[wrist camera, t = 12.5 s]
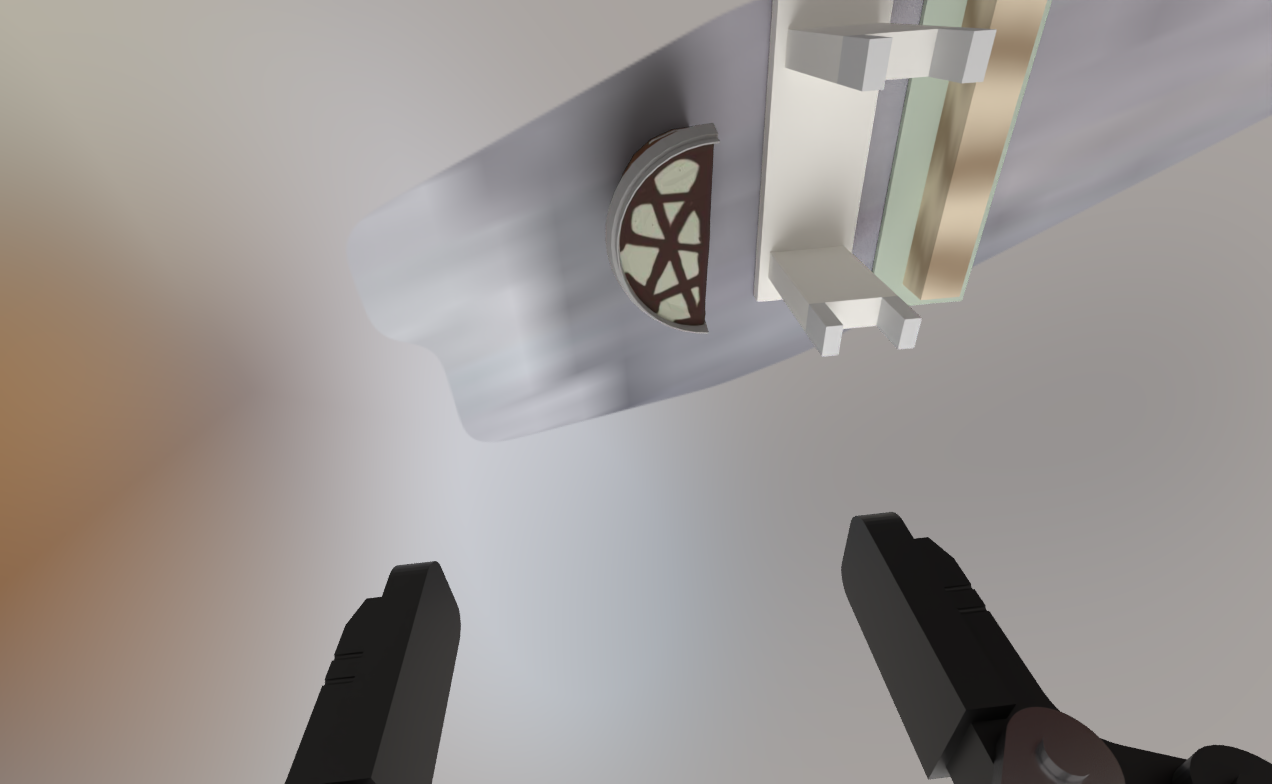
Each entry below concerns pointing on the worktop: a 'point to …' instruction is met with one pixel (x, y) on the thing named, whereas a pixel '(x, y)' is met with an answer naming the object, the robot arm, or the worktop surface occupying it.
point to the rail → (970, 149)
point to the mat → (924, 160)
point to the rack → (838, 155)
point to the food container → (665, 227)
